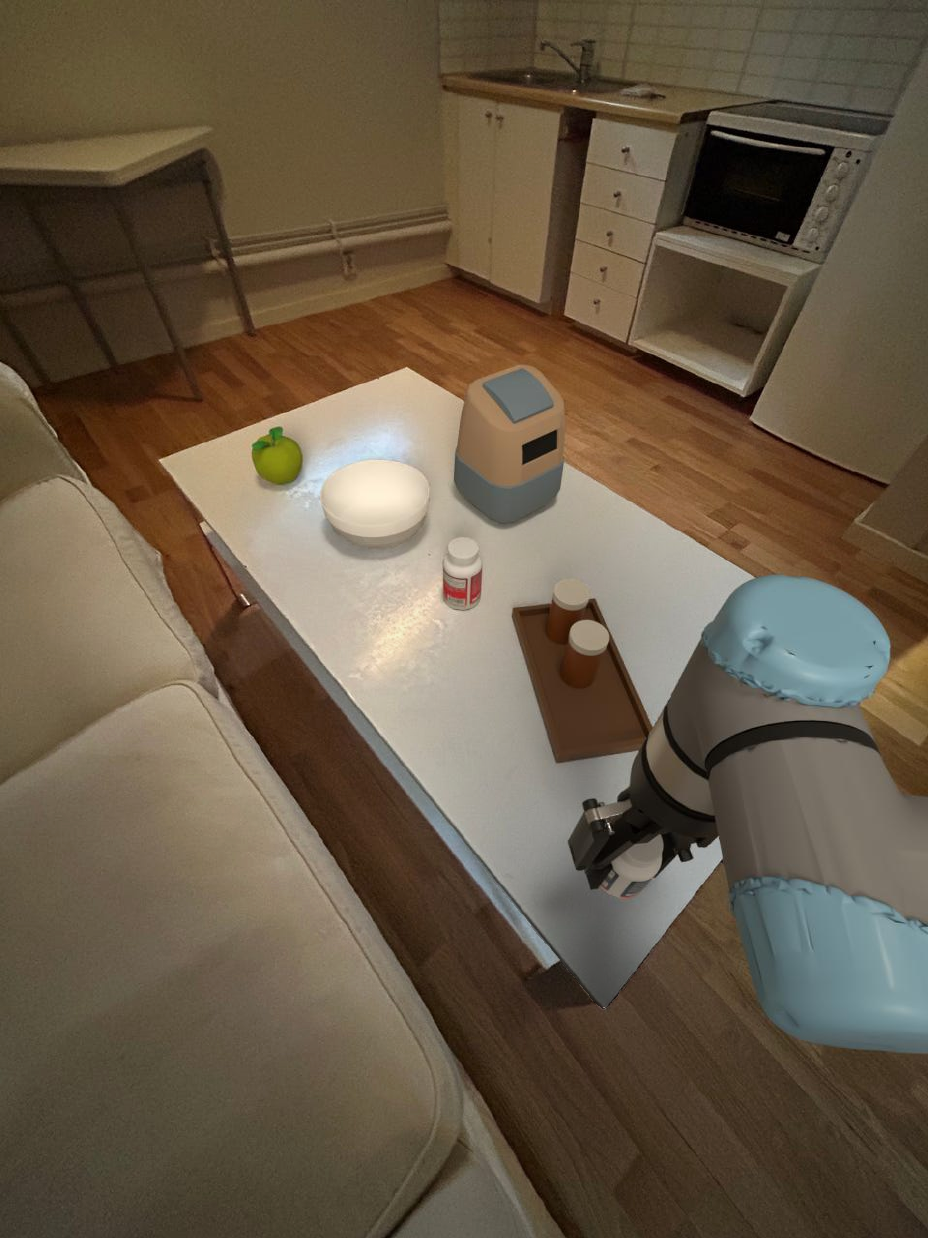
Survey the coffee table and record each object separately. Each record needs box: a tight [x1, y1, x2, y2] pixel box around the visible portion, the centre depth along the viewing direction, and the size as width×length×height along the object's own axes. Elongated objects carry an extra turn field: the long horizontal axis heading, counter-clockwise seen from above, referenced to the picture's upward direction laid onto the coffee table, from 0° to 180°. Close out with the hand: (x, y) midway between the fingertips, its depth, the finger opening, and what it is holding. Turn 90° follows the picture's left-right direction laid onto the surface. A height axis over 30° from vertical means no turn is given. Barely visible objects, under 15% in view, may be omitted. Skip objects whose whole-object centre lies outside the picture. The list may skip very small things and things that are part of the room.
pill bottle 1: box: [442, 536, 484, 611], centre depth 85 cm, size 6×6×11 cm
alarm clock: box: [453, 363, 566, 524], centre depth 98 cm, size 17×17×23 cm
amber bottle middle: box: [560, 620, 609, 688], centre depth 75 cm, size 5×5×9 cm
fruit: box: [251, 426, 304, 486], centre depth 105 cm, size 9×9×10 cm
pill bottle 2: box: [600, 834, 663, 899], centre depth 51 cm, size 5×5×9 cm
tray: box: [511, 597, 653, 764], centre depth 79 cm, size 26×14×2 cm, turn 10°
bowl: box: [319, 458, 431, 550], centre depth 96 cm, size 19×19×9 cm
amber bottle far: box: [546, 578, 591, 644], centre depth 80 cm, size 5×5×9 cm
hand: (618, 869), depth 54 cm, fingers closed on pill bottle 2, 5 cm apart
